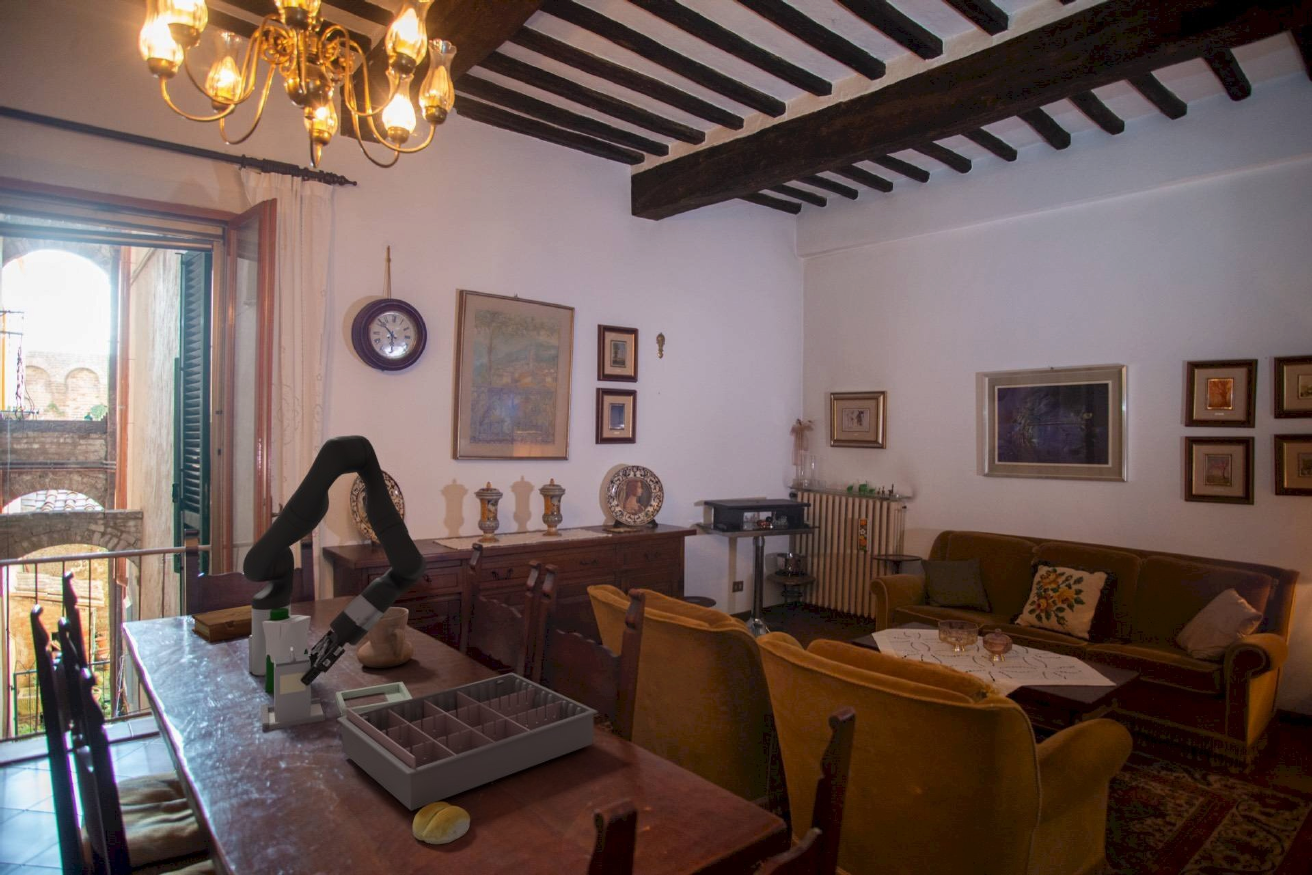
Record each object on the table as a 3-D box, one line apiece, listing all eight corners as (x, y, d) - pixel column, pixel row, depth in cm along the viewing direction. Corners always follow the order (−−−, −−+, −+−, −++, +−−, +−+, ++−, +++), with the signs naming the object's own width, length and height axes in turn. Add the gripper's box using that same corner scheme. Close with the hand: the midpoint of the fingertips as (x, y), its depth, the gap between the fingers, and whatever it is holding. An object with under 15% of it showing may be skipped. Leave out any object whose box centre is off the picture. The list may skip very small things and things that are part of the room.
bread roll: (440, 812, 126) (440, 789, 126) (478, 828, 121) (478, 803, 121) (399, 834, 119) (399, 809, 119) (438, 852, 114) (438, 826, 114)
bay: (319, 706, 173) (319, 695, 172) (324, 724, 162) (324, 712, 162) (261, 715, 167) (261, 704, 167) (262, 735, 156) (262, 723, 156)
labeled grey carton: (309, 708, 168) (308, 643, 168) (310, 716, 164) (310, 649, 164) (274, 714, 165) (273, 648, 165) (275, 722, 160) (274, 654, 160)
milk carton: (283, 684, 187) (283, 605, 187) (315, 687, 185) (315, 606, 185) (258, 697, 178) (257, 613, 178) (291, 699, 176) (291, 615, 176)
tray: (402, 691, 182) (402, 681, 182) (412, 709, 171) (412, 698, 171) (335, 702, 175) (335, 692, 175) (342, 722, 163) (342, 710, 163)
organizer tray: (598, 750, 150) (598, 701, 150) (408, 822, 123) (407, 762, 122) (512, 706, 173) (512, 663, 173) (336, 758, 146) (336, 707, 146)
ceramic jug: (347, 662, 205) (346, 610, 204) (397, 650, 215) (397, 601, 214) (373, 679, 192) (373, 625, 191) (426, 666, 202) (426, 614, 201)
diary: (209, 644, 223) (209, 625, 223) (191, 632, 236) (191, 614, 235) (290, 629, 239) (290, 611, 239) (269, 618, 252) (268, 601, 252)
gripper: (340, 602, 176) (286, 658, 170) (348, 616, 163) (290, 676, 158) (364, 622, 178) (312, 677, 173) (374, 636, 166) (318, 697, 160)
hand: (302, 677), depth 165 cm, fingers open, 8 cm apart
